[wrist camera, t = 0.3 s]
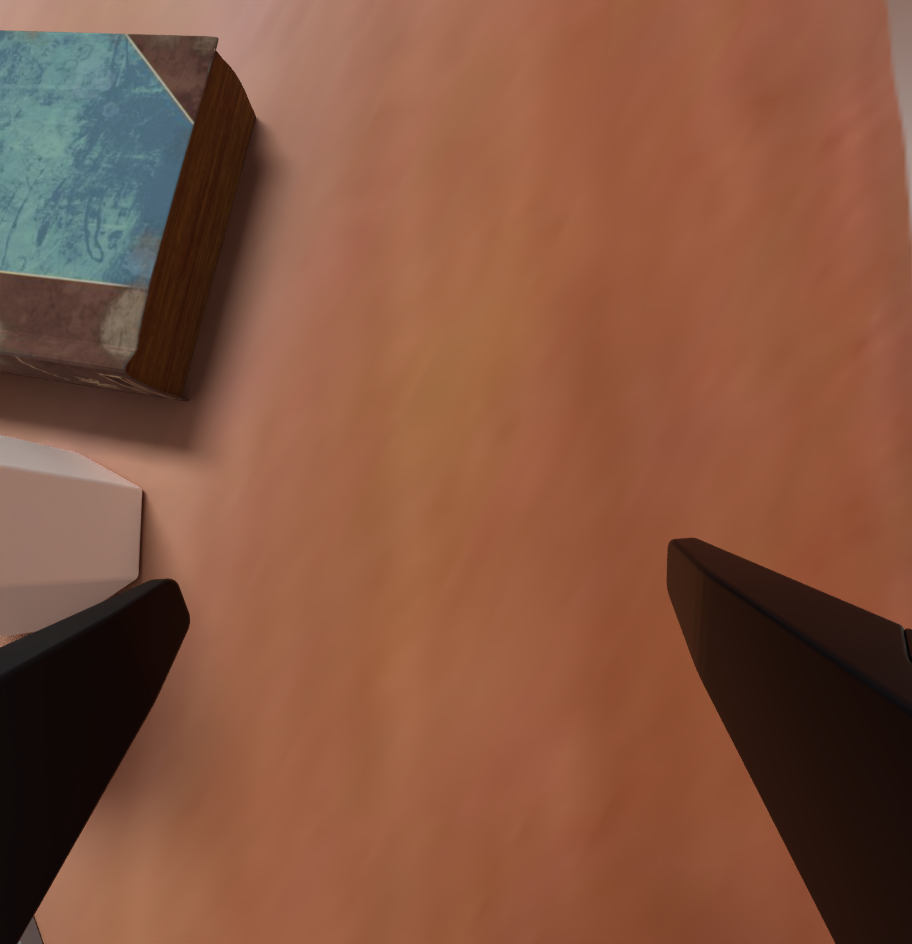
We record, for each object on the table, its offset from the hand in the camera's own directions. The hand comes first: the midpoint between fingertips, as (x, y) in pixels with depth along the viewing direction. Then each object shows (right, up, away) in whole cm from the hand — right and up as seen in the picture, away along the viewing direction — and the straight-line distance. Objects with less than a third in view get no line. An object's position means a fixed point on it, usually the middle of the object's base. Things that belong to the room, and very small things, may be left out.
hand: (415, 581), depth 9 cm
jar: (-19, -1, +18) cm, 26 cm away
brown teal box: (-23, +16, +21) cm, 35 cm away
